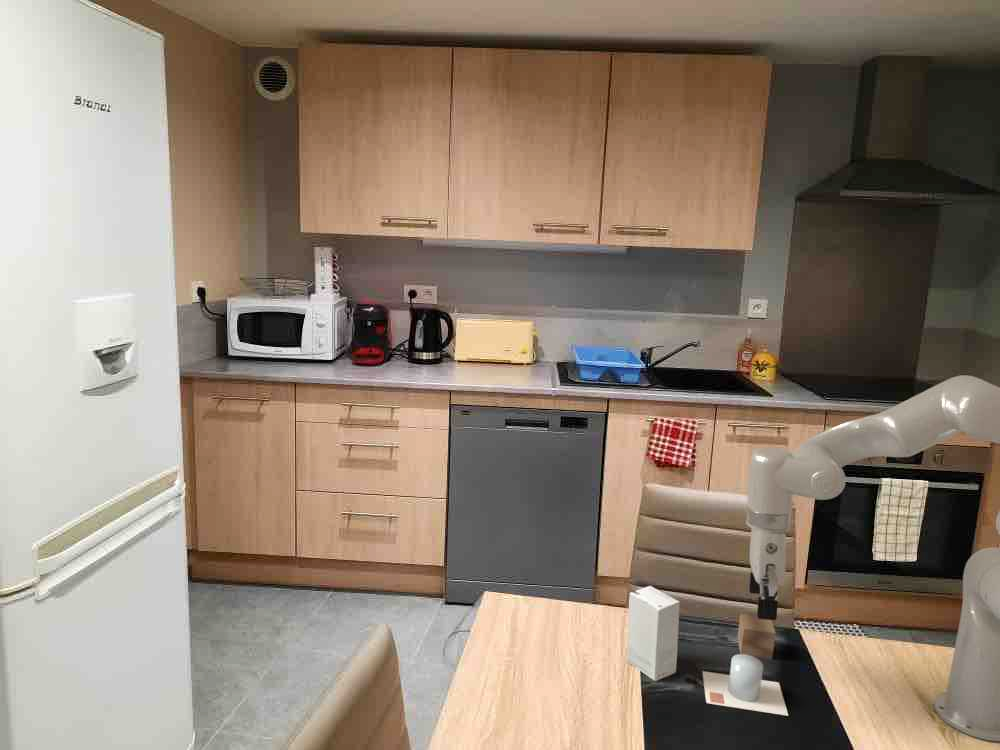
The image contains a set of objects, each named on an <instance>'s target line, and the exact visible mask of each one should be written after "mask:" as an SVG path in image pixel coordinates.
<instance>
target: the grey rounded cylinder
mask: <svg viewBox="0 0 1000 750" xmlns="http://www.w3.org/2000/svg"><path fill="white" fill-rule="evenodd" d="M730 661H731V662H730V671H729V675H730V677H729V685H728V691H729V693H730V694H731V695H732V696H733V697H735V698H737V699H739V700H743V701H756V700H757V699H758V698H759V695H760V687H761V680H763V672H764V663H763V662H762V661H761V660H760V658H758V657H753V656H750V655H745V654H735V655H733V656H732V657H731V660H730Z"/></svg>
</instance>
